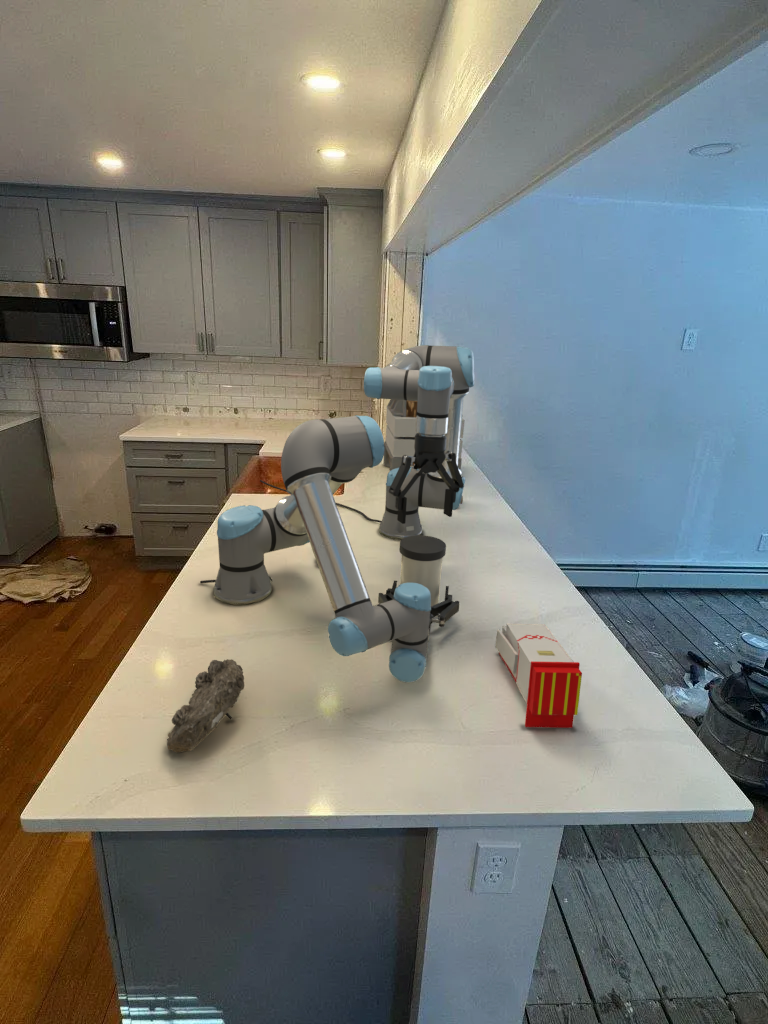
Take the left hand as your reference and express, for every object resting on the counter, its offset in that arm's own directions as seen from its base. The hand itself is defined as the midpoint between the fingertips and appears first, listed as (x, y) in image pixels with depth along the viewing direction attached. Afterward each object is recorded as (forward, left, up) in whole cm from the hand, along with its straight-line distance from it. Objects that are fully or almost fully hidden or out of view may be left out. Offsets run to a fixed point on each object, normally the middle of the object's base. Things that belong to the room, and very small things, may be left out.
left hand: (420, 587), depth 149 cm
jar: (0, -1, -6) cm, 6 cm away
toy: (+26, -28, -6) cm, 39 cm away
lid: (0, -1, +13) cm, 13 cm away
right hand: (0, -1, +20) cm, 20 cm away
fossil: (-36, -50, -6) cm, 62 cm away
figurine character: (+7, +89, -6) cm, 90 cm away
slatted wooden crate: (-11, +132, -6) cm, 132 cm away
